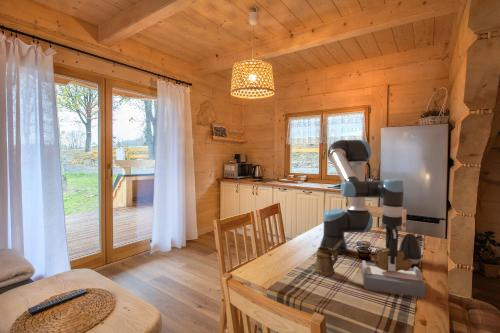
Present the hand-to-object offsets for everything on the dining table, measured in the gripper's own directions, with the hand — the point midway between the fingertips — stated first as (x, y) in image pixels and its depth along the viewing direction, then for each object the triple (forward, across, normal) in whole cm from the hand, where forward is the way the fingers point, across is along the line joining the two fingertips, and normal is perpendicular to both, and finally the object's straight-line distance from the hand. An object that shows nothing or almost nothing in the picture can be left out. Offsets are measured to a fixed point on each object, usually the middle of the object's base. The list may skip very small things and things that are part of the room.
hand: (390, 267), depth 114 cm
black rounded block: (+7, +28, -14) cm, 32 cm away
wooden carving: (+1, 0, 0) cm, 1 cm away
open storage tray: (+7, 0, 0) cm, 7 cm away
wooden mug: (+7, +2, +26) cm, 27 cm away
